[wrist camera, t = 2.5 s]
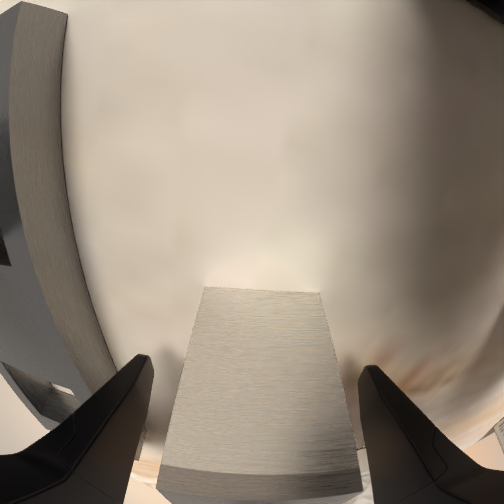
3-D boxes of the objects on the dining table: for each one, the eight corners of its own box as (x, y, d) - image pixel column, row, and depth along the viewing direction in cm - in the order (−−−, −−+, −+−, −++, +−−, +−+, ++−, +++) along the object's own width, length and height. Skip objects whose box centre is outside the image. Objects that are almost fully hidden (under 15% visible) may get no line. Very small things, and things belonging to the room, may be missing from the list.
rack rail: (67, 13, 5) (21, 1, 3) (146, 431, 16) (138, 460, 14) (-43, 77, 5) (-79, 84, 3) (56, 404, 16) (45, 428, 14)
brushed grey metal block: (319, 292, 10) (363, 491, 4) (301, 365, 12) (316, 518, 6) (205, 286, 10) (155, 488, 4) (209, 361, 12) (185, 515, 6)
